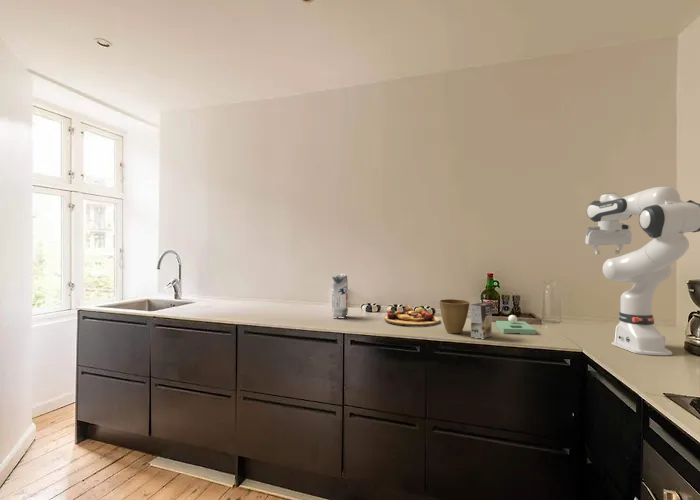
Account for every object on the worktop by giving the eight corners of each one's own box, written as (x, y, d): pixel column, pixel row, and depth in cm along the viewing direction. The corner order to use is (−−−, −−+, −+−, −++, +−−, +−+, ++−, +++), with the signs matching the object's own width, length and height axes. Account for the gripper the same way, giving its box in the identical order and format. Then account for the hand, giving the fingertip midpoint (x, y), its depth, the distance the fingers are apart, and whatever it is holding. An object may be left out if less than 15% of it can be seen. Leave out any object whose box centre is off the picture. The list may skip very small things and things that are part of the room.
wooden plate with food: (385, 327, 212) (386, 312, 212) (383, 315, 244) (383, 302, 244) (444, 328, 211) (445, 313, 211) (434, 317, 243) (434, 303, 242)
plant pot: (437, 334, 193) (437, 302, 193) (441, 328, 207) (441, 298, 207) (468, 336, 188) (468, 304, 188) (470, 330, 202) (470, 299, 202)
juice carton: (331, 318, 236) (330, 274, 235) (334, 315, 246) (334, 273, 246) (345, 319, 234) (345, 274, 234) (348, 316, 245) (348, 273, 244)
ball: (518, 324, 205) (518, 315, 205) (509, 323, 206) (509, 315, 206) (516, 322, 209) (516, 314, 209) (507, 322, 210) (507, 314, 210)
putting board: (535, 334, 192) (535, 329, 192) (503, 333, 195) (503, 328, 195) (524, 326, 212) (524, 321, 212) (495, 325, 214) (495, 320, 214)
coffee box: (483, 340, 182) (483, 305, 182) (470, 337, 187) (470, 304, 187) (492, 336, 189) (492, 303, 188) (479, 334, 193) (479, 302, 193)
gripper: (589, 227, 191) (588, 255, 192) (634, 225, 188) (633, 254, 190) (583, 226, 197) (582, 253, 199) (626, 224, 194) (625, 252, 196)
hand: (607, 253), depth 194 cm, fingers open, 8 cm apart
